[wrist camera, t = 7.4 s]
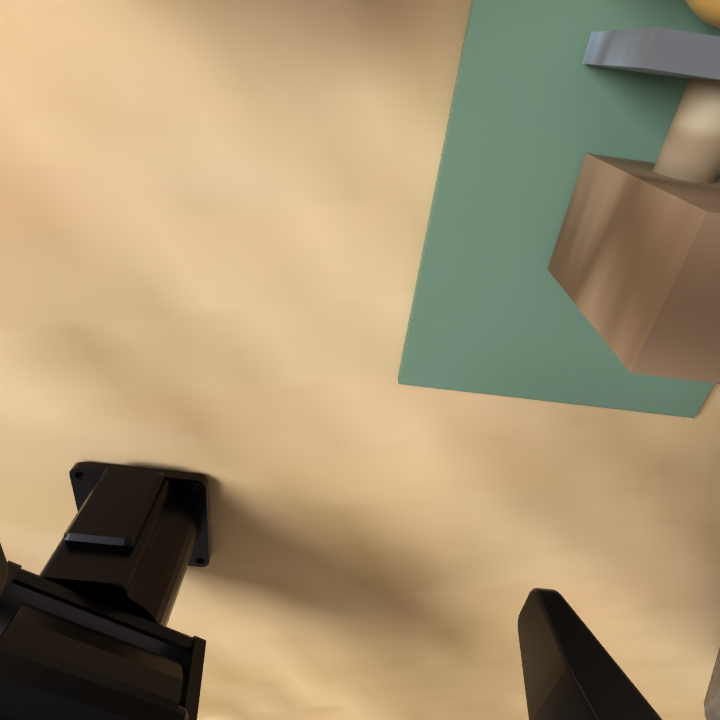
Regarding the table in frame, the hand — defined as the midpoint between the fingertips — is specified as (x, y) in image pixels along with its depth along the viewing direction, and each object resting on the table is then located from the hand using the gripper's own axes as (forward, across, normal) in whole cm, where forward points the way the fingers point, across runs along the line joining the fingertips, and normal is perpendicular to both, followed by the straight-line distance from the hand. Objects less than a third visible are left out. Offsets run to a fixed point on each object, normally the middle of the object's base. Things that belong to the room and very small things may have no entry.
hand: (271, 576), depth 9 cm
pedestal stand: (+12, -10, -5) cm, 17 cm away
